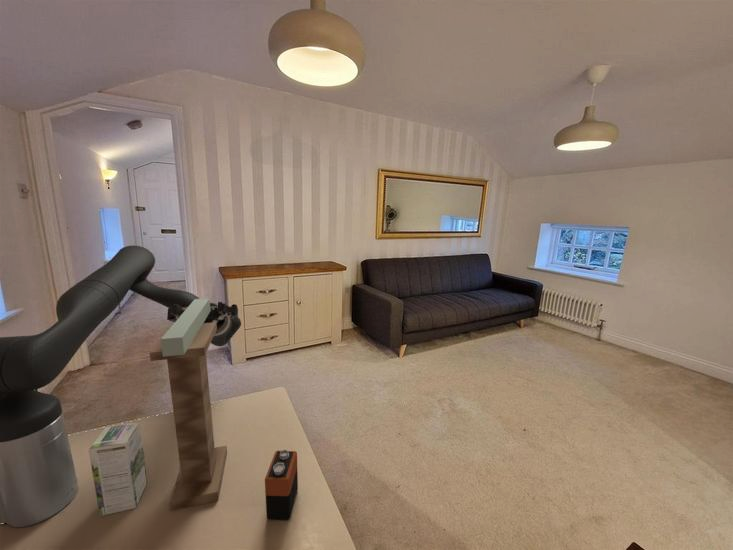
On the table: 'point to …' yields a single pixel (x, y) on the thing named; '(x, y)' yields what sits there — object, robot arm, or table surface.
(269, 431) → the table surface
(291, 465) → the battery
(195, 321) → the peg
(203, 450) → the stand
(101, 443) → the syrup box
